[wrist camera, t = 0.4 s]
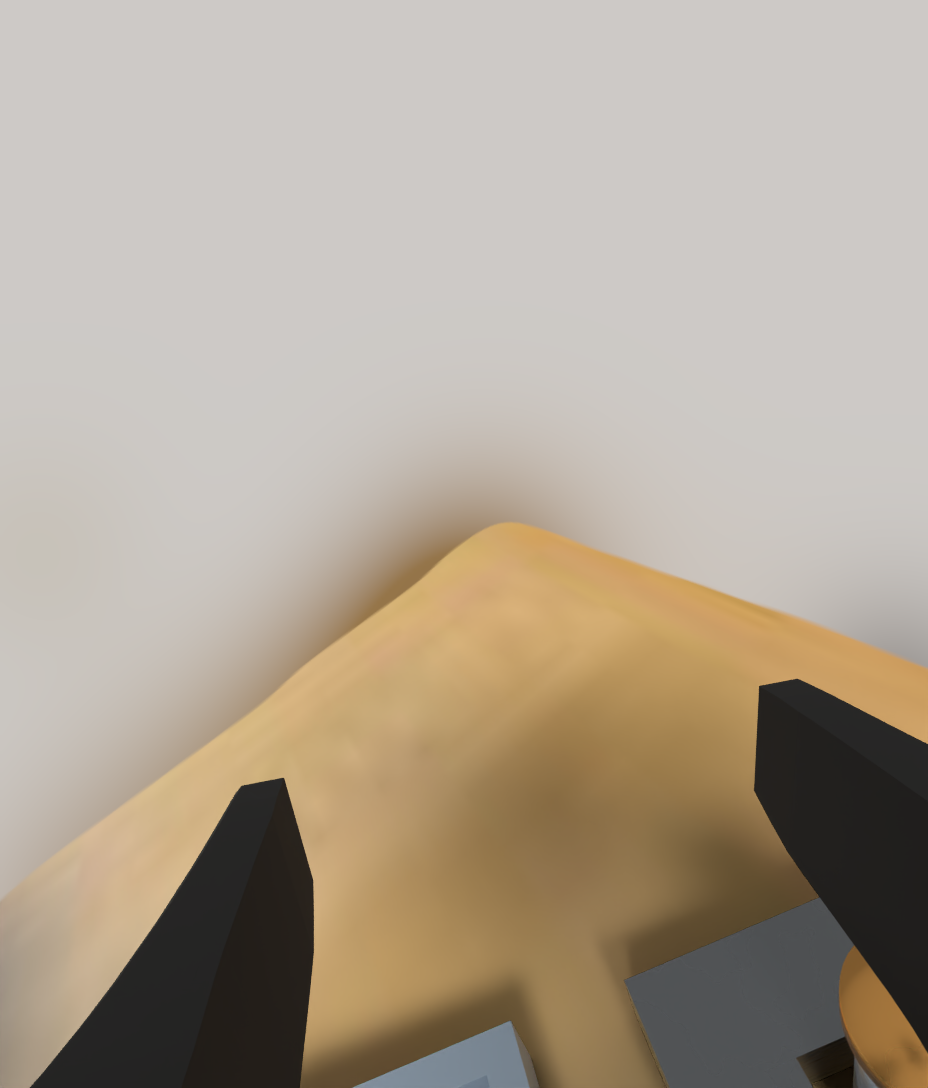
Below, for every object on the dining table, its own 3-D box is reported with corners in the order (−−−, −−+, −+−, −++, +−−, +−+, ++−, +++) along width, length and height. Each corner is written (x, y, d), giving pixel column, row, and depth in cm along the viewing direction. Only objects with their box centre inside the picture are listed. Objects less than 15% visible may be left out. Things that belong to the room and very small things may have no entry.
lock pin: (1034, 1202, 20) (1102, 1075, 15) (901, 1263, 19) (927, 1154, 15) (921, 1044, 23) (947, 898, 18) (807, 1094, 23) (802, 961, 18)
